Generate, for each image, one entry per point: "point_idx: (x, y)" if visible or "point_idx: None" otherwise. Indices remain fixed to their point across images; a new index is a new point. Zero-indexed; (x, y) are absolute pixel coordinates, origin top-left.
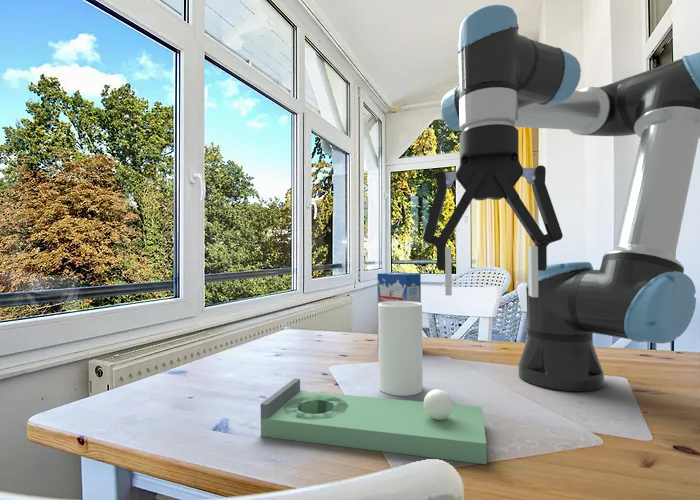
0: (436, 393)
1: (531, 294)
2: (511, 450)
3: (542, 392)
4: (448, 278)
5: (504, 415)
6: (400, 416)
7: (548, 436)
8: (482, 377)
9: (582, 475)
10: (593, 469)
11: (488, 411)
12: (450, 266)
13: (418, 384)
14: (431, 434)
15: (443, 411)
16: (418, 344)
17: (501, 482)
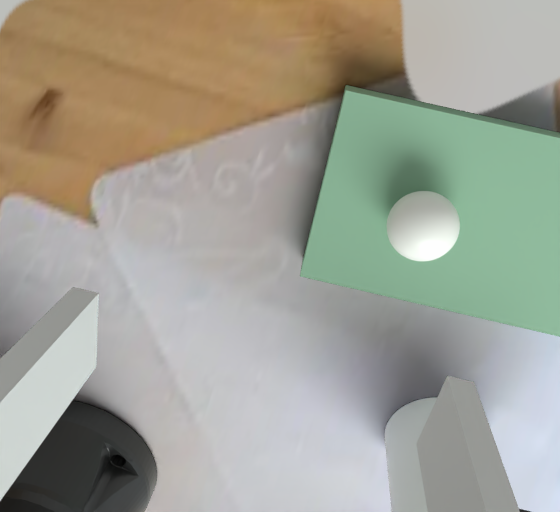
0: (435, 224)
1: (93, 307)
2: (277, 146)
3: (133, 401)
4: (479, 441)
5: (243, 298)
6: (505, 225)
7: (186, 206)
8: (235, 480)
9: (176, 52)
10: (148, 76)
11: (271, 317)
12: (485, 497)
13: (402, 422)
14: (456, 131)
15: (418, 192)
16: (413, 506)
17: (337, 15)
